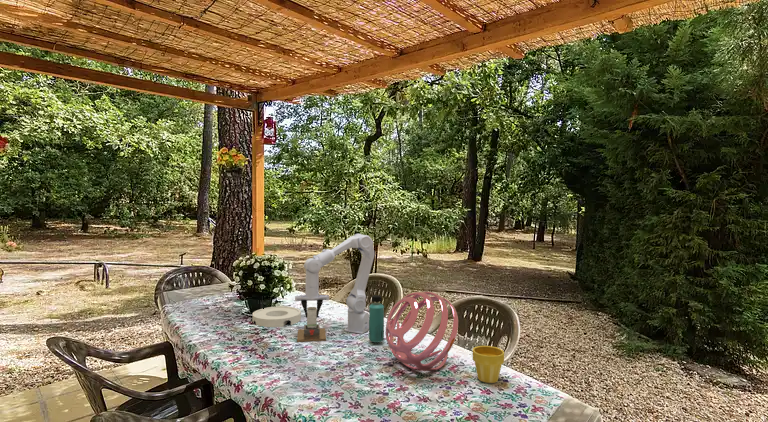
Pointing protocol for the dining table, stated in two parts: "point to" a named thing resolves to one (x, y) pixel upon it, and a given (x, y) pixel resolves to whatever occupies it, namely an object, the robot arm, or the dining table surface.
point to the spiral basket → (404, 347)
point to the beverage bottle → (376, 320)
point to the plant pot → (488, 363)
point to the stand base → (311, 334)
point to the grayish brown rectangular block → (311, 317)
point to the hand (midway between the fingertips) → (311, 317)
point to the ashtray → (276, 316)
